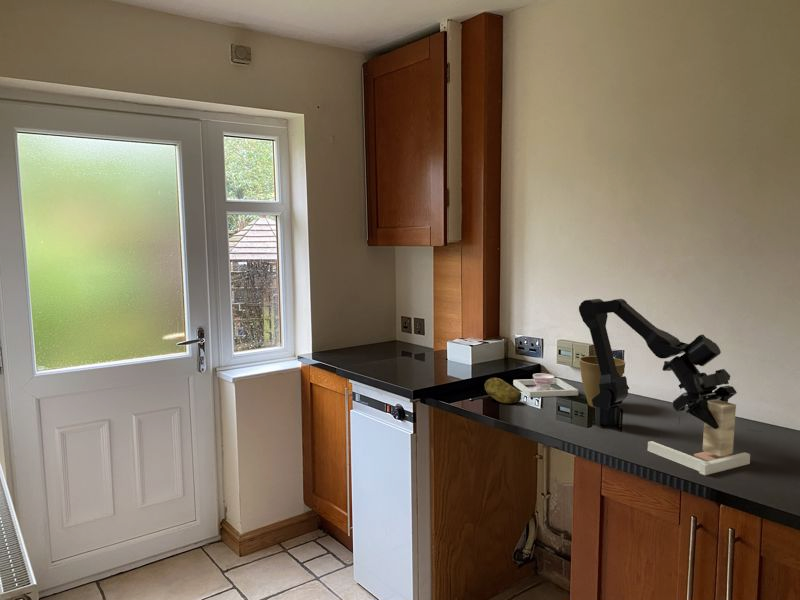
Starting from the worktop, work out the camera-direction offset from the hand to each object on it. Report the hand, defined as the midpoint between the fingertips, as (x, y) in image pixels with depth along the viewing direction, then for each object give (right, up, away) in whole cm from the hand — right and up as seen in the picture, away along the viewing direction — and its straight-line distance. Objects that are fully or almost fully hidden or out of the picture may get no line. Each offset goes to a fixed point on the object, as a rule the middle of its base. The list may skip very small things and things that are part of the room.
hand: (724, 426), depth 152 cm
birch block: (-1, -7, +2) cm, 7 cm away
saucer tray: (-29, -1, +72) cm, 77 cm away
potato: (-48, -3, +56) cm, 74 cm away
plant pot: (-15, -4, +50) cm, 53 cm away
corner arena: (-6, -9, +3) cm, 11 cm away
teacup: (-30, -2, +69) cm, 76 cm away
